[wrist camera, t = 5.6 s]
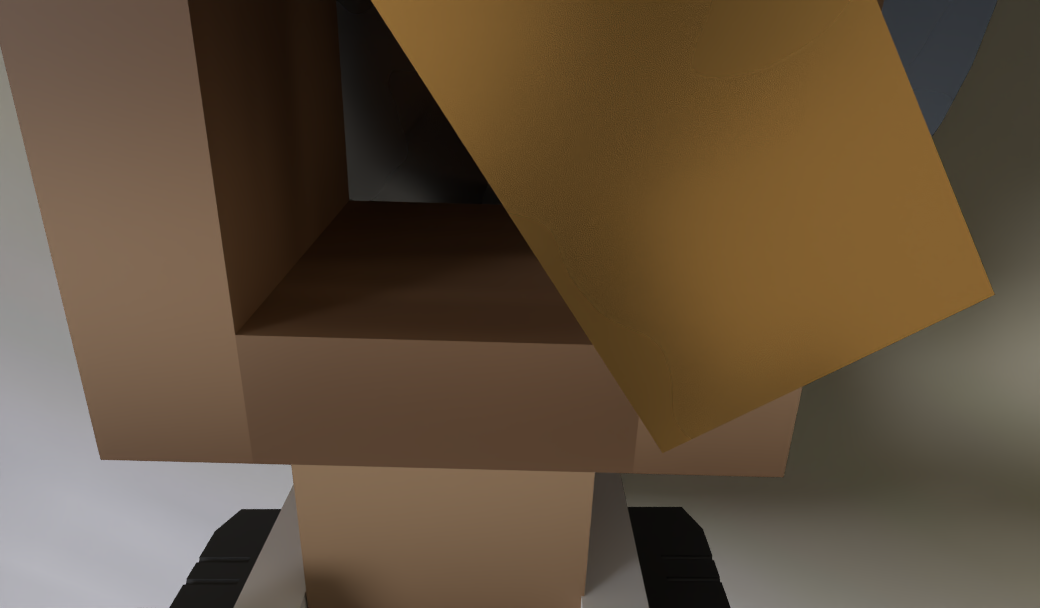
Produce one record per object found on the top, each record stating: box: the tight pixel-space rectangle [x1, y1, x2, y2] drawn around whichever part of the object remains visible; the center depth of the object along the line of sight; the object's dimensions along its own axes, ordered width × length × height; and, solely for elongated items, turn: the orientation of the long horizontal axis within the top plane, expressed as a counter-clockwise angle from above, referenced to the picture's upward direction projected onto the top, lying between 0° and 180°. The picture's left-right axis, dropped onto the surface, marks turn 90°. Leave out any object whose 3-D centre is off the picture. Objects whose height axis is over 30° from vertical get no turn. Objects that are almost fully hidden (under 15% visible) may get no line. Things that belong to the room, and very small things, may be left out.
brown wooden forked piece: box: [0, 0, 884, 608], centre depth 9 cm, size 16×7×5 cm, turn 178°
